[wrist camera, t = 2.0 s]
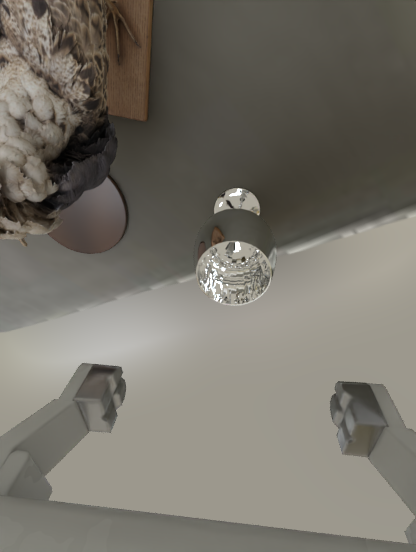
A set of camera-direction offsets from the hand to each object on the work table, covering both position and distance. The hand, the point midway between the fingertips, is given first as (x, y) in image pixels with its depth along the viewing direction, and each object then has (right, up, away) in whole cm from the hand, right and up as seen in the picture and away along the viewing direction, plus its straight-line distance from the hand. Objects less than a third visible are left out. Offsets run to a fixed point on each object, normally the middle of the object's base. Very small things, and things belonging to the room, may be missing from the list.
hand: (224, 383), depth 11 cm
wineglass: (+2, +11, +17) cm, 20 cm away
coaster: (-14, +11, +18) cm, 25 cm away
